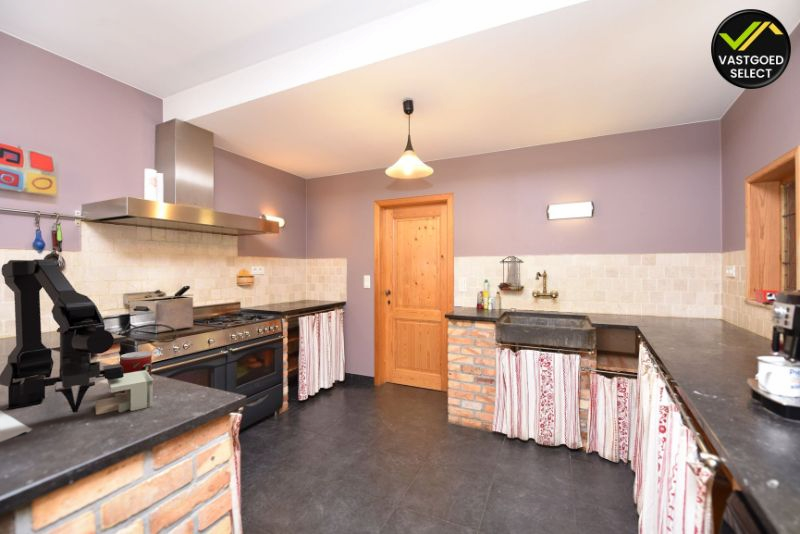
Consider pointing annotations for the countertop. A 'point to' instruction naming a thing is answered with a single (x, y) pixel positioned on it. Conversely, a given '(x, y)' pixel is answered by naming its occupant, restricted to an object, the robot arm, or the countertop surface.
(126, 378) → the pale green angular bracket
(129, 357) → the canned food
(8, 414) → the countertop surface
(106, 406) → the panel
